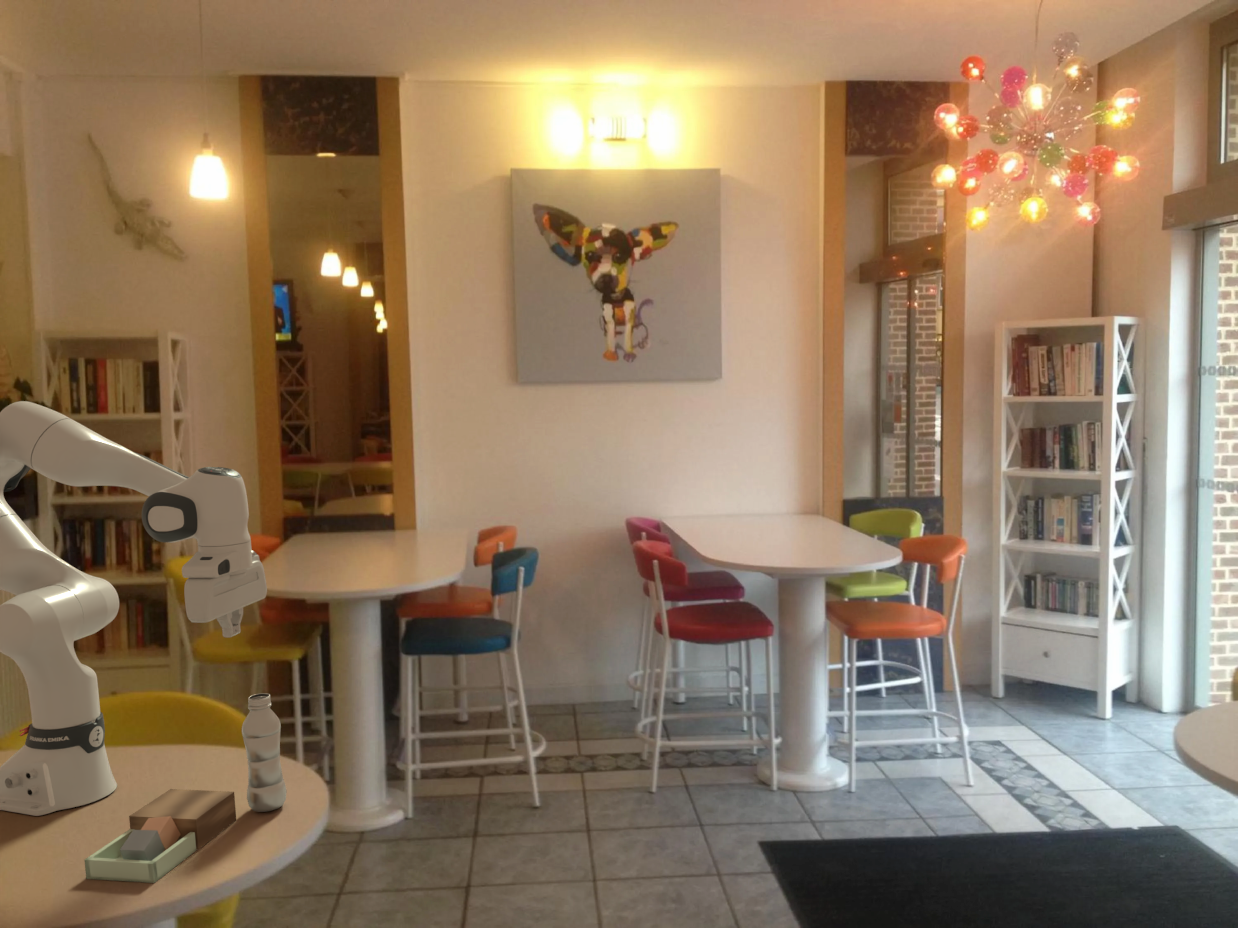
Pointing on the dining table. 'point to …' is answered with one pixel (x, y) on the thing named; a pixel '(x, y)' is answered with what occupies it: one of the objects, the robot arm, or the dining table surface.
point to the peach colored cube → (163, 830)
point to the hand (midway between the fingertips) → (231, 635)
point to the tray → (136, 861)
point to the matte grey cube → (142, 845)
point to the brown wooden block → (191, 812)
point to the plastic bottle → (263, 755)
